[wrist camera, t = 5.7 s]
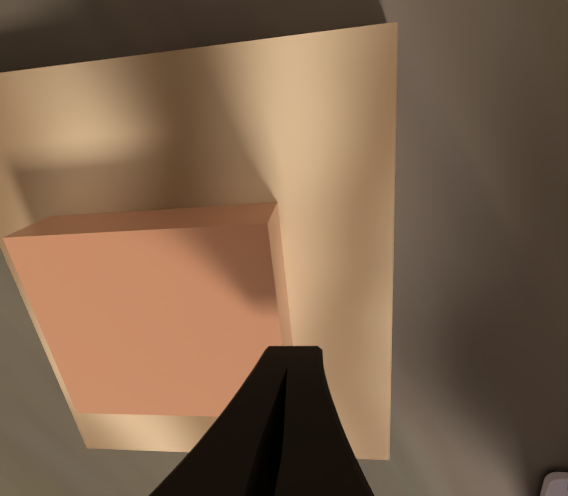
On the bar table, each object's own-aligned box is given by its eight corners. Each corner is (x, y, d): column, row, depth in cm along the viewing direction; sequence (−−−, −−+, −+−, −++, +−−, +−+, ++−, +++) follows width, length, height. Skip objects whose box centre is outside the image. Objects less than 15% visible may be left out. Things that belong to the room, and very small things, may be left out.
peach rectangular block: (267, 223, 10) (2, 237, 11) (291, 418, 12) (76, 413, 14) (277, 201, 12) (50, 215, 13) (296, 375, 14) (107, 373, 15)
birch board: (389, 30, 11) (398, 21, 9) (384, 429, 17) (389, 459, 15) (-28, 82, 13) (-71, 82, 11) (104, 422, 19) (86, 448, 18)
